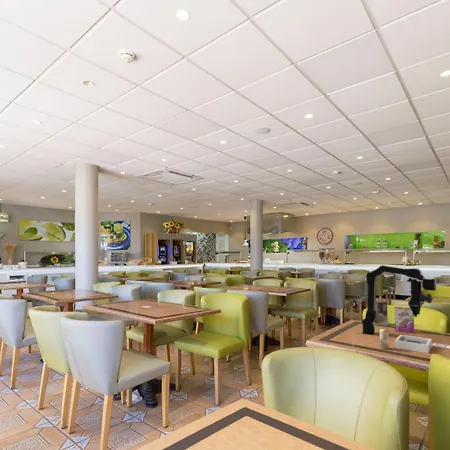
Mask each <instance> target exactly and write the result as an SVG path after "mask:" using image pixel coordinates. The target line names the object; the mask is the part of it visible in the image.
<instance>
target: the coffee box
mask: <svg viewBox="0 0 450 450" xmlns="http://www.w3.org/2000/svg"><path fill="white" fill-rule="evenodd" d="M375 309H376V311H378V317H377V319H376V320H375V321H374V323H373V324H374V326H386V327H387V326H388V325H389V324H388V323H389V320H388V303H387V301H383V300H382V301H380V300H378V301H377V300H375Z"/></svg>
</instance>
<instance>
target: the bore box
mask: <svg viewBox="0 0 450 450" xmlns="http://www.w3.org/2000/svg"><path fill="white" fill-rule="evenodd" d="M432 346H433V339H432V338H428V337H419V336H415V335H406V334H405V335H404V334H400V335H399V336H397V338H395V340H394V347H395V349H400V350H406V351H407V350H408V351H414V352H419V353H424V354H425V353H426V354H429V353H430V350H431V349H432Z"/></svg>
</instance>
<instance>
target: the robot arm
mask: <svg viewBox="0 0 450 450" xmlns="http://www.w3.org/2000/svg"><path fill="white" fill-rule="evenodd" d="M383 273H388V274H389V273H390V274H395V275H396V274H397V275H404V276H406V277H408V279H407V280H406V282H408V283H410V291H409V293H410V298H409V299H410V300H408V302H407V304H408V307H410V308H411V310H412V312H413V314H414V318H417V317H418V315H419V316H420V314H421V313H420V312H421V308H422V306H423V304H424V303H425V302H426V303H427V304H431V303H432V301H433V299H434V297H433V296H432V294H430V293H427V294H425V293H424V292H423V290H424V291H434V292H435V291H436V290H437V284H436V279H435V278H426V277H425V276H424V275H423V273H422V271H421V270H420V268H416V267H415V268H401V267H397V266H388V265H384V264H382V265H380V266H379V267H377V268H375V269H374V270H373V271H369V272H367V273H366V276H365V278H366V283H367V286H368V287H367V288H368V289H367V291H368V292H367V309H366V311H365V318H363V319H362V320H361V324H362V333H361V334H366V335H371V336H373V335H375V334H376V325H374V321H375V320H376V319H377V317H378V311H376V309H375V301H376V286H377V283H378V280H379V279H378V278H379V276H380V275H382V274H383ZM422 289H423V290H422Z"/></svg>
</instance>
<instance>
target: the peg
mask: <svg viewBox="0 0 450 450" xmlns="http://www.w3.org/2000/svg"><path fill="white" fill-rule="evenodd" d="M389 342H390V338H389V330H388V329H386V328H381V329H379V348H380V349H381V350H386V351H387V350H389V349H390V345H389V344H390V343H389Z"/></svg>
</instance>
